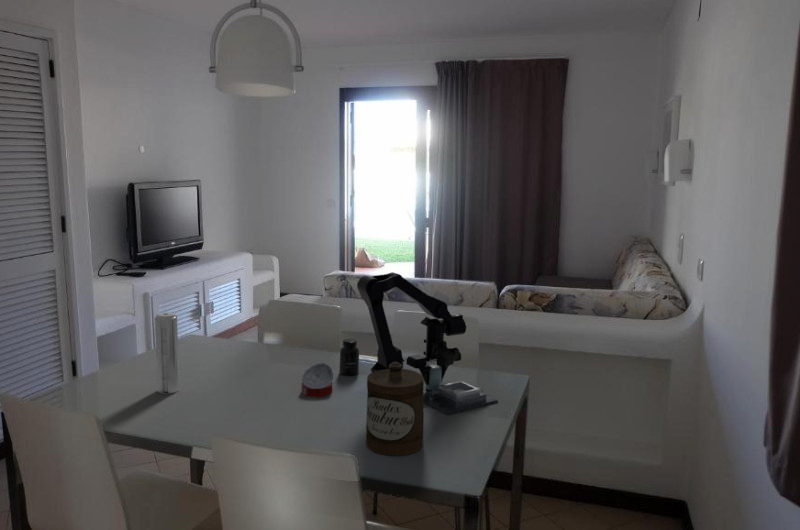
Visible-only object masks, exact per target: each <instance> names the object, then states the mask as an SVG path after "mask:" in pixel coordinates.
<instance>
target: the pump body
mask: <svg viewBox="0 0 800 530" xmlns="http://www.w3.org/2000/svg"><path fill="white" fill-rule="evenodd" d="M429 366H431V367H432V368H431V369H430V371H429V385H426V384H425V389H426V390H428V391H432V389H437V388H439V385H442V382H441V376H442V367H441V366H437V364H436V365H435V364H431V365H430V364H429Z"/></svg>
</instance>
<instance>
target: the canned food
mask: <svg viewBox="0 0 800 530" xmlns="http://www.w3.org/2000/svg"><path fill="white" fill-rule="evenodd" d="M301 380H302V382H301V394H302V395H303V396H306V397H308V398H309V397H310V398H322V397H327V396H329V395H331V394H332V393H333V380H334V373H333V370H332V367H330V365H328V364H326V363H315V364H313V365H312V366H310V367H309V368H308V369H306V370H305V371H304V373H303V374H302V379H301Z"/></svg>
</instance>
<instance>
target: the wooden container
mask: <svg viewBox="0 0 800 530" xmlns="http://www.w3.org/2000/svg"><path fill="white" fill-rule="evenodd" d="M366 377H367V378H366V388H367V393H366V394H367V398H366V399H367V400H366V401H367V402H366V420H365V421H366V423H365V424H366V425H365V429H366V433H365V434H366V435H365V436H366V440H365V441H366V443H365V444H366V446H367V447H368V449H369V450H371V451H372V452H374V453H377V454H380V455H384V456H392V457H401V456H405V455H410V454H414V453H416V452H418V451H420V450H421V448H423V446H424V420H425V419H424V417H425V416H424V412H425V411H424V402H423V397H424V384H425V381H424V379H423V376H422V374H421V372H418V371H416V370H411V369H407V368H406V369H405V368H403V369H402V364H400V363H399V362H392V363H391V364H390V365H389V369H383V370H378V371H375V372H370V373H369V374H368V375H367V376H366Z"/></svg>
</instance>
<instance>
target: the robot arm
mask: <svg viewBox="0 0 800 530" xmlns="http://www.w3.org/2000/svg"><path fill="white" fill-rule="evenodd" d="M356 287H357V290H358V292H359V294H360V296H361V299H362V301H364V303H365V304H366V306H367V309H368V313H369V316H370V321H371V324H372V328H373V331H374V336H375V338H376V343H377V345H378V349H377V355H376V357H377V362H376V363H375V364H373V366H372V367H371V369H370V371H371V372H370V373H372V372H375V371H378V370H383V369H389V365H390V364H391V363H392V362H399V363H400V364H402V369H404V363H405V360H404V358H403V352H402V349H400V348H398V347H397V346H395V345H394V343H393V340H392V336H391V332H390V327H389V324H388V320H387V316H386V312H385V308H384V305H383V302H384V298H385V295H384V294H385V293H387V292H389V291H390V290H393V289H396V290H398V291H399V292H401V293H402V294H404V296H406V297H408V298H410V299H411V300H413V301H414V302H416V303H417V305H418V306H419V307H420V309H421V310H422V311H423V312H424V314H426V315H429V316H430V317H433V318H430V317H428V316H425V317H424V318H423V320H421V321H420V324H421V325H423V326H426V333H425V334H426V338H424V339H423V343H425V350H423V353H422V354H423V355H424V356H421V355H419V354H413V355H408V356H407V357H406V365H407V366H409V367H412V368H414V369H417V370H419V373H420V374H421V375H422V376H423V380H424V384H425V386H426V385H429V371H430V369H431V368H432V367H431V366H429V365H430V363H432V362H436V365H437V366H441V367H442V376H441V383H443V382H442V381H443V379H444V376H445V375H446V372H447V369H448V368H449V366H451V365H453V364H454V363H455V362H458V361H459V362H460V361H462V353H461V351H460V349H459V348H458V347H452V348H450V347H448V346H447V341H446V340H444V339H445V338H444V337H445V336H447V337H451V336H452V337H453V336H458V335H459V336H460V335H464V334H465V333H466V331H467V325H466V322H465V319H464V315H463V314H461V313H457V314H451V312H450V310H449V309H448V307H449V306H448V304H447V303H446V302H444V301H443V300H440V299H438V298H435V297H433V296H431V295H428V294H427V293H426V292H424V291H422V290H421V289H420V288H418V287H417V286H415V285H414V284H412V283H411V282H410V281H408V280H407V279H406V278H404V277H403V276H402V275H401V274H399V273H396V272H389V273H384V274H377V275H372V276H369V275H364V276H361V277H360V278H359V280H358V281H357V282H356Z"/></svg>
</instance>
